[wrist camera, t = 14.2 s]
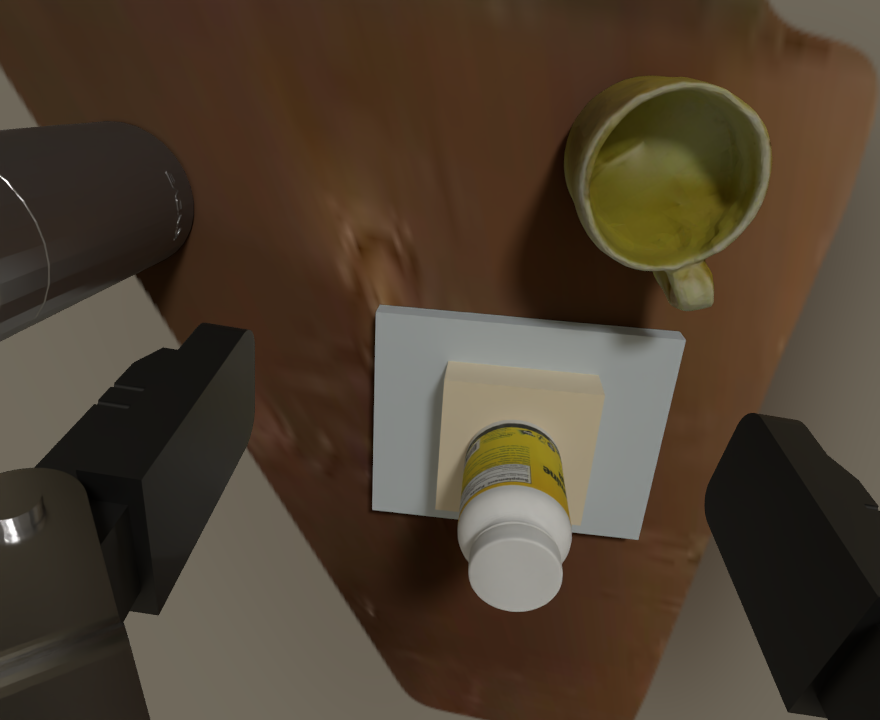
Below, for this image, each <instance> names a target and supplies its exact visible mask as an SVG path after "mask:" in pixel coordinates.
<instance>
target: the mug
mask: <svg viewBox="0 0 880 720" xmlns="http://www.w3.org/2000/svg"><path fill="white" fill-rule="evenodd" d="M771 170H772V151H771V142H770V137H769V134H768V132H767V129H766V126H765V125H764V123H763V122H762V120H761V119H760V117H759V116H758V114H757V113H756V112H755V111H754V110H753V109H752V108H750V106H749V105H748V104H746V103H745V102H744V101H742V100H741V99H740V98H738V97H737V96H735V95H733V94H732V93H730V92H729V91H728V90H726V89H724V88H721V87H718V86H716V85H713V84H710V83H707V82H703V81H700V80H696V79H691V78H686V77H663V76H639V77H634V78H630V79H626V80H623V81H621V82H619V83H616V84H614V85H612V86H611V87H609V88H607V89H606V90H604V91H603V92H601V93H599V94H598V95H596V96H595V97H594V98H593V99H592V100H591V101H589V103H588V104H587V105H586V106H585V107H584V109H583V110H582V111H581V113H580V114H579V115H578V117H577V118H576V120H575V121H574V123H573V125H572V127H571V130H570V133H569V136H568V139H567V143H566V148H565V154H564V173H565V179H566V184H567V188H568V190H569V193H570V195H571V197H572V199H573V201H574V204H575V208H576V211H577V214H578V217H579V219H580V222H581V224H582V226H583V228H584V229H585V231H586V233H587V235H588V236H589V237H590V239H591V240H592V241H593V242H594V244H595V245H596V246H597V247H598V248H599V249H600V250H601V251H602V252H604V253H605V254H607V255H608V256H609V257H611V258H612V259H614V260H616V261H617V262H619V263H621V264H623V265H624V266H627V267H630V268H633V269H638V270H643V271H652V272H653V274H654V276H655V278H656V280H657V282H658V284H659V285H660V286H661V288H662V289H663V291H664V293H665V295H666V297H667V299H668V301H669V303H670V304H671V305H672V306H674V307H676V308H677V309H681V310H684V311H693V310H699V309H704V308H707V307H710V306H712V304H713V301H714V283H713V276H712V273H711V271H710V269H709V268H708V266H707V265H706V262H705V259H706V258H708V257H710V256H712V255H714V254H716V253H718V252H720V251H722V250H723V249H725V248H726V247H727V246H728V245H730V244H731V243H732V242H733V241H734V240H735V239H736V238H737V237H738V236H739V235H740V234H741V233H742V232H743V231H744V230H745V229H746V228H747V226H748V225H749V224H750V223H751V221H752V220H753V219H754V218H755V216H756V214H757V212H758V210H759V209H760V207H761V205H762V203H763V200H764V198H765V195H766V193H767V190H768V185H769V180H770V175H771Z"/></svg>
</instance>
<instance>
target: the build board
mask: <svg viewBox="0 0 880 720" xmlns="http://www.w3.org/2000/svg"><path fill="white" fill-rule="evenodd" d="M685 341H686V340H685V338H684V337H683V335H682V334H681V333H680V332H678V331H667V330H656V329H645V328H633V327H622V326H611V325H600V324H589V323H578V322H567V321H555V320H544V319H533V318H522V317H511V316H500V315H489V314H477V313H466V312H455V311H444V310H433V309H422V308H411V307H400V306H388V305H380V306H379V307H378V309H377V311H376V330H375V385H374V439H373V494H372V510H378V511H387V512H396V513H405V514H414V515H422V516H431V517H440V518H449V519H458V518H459V509H460V500H461V490H462V481H463V472H464V464H465V457H466V452H467V449H468V446H469V444H470V442H471V440H472V439H473V437H474V436H475V435H476V434H477V433H478V432H479V431H480V430H481V429H483V428H484V427H486V426H488V425H490V424H492V423H494V422H498V421H502V420H522V421H527V422H530V423H533V424H535V425H537V426H539V427H540V428H542V429H543V430H545V431H546V432H547V433H548V434H549V435H550V436H551V437H552V438H553V440H554V441H555V443H556V445H557V447H558V450H559V453H560V457H561V462H562V469H563V476H564V483H565V490H566V496H567V502H568V509H569V514H570V521H571V525H572V532H573V533H582V534H591V535H600V536H609V537H618V538H627V539H636V540H638V539H639V535H640V531H641V526H642V522H643V518H644V514H645V510H646V505H647V501H648V497H649V493H650V488H651V484H652V480H653V476H654V472H655V467H656V463H657V459H658V455H659V451H660V446H661V442H662V438H663V434H664V430H665V425H666V421H667V417H668V413H669V409H670V404H671V400H672V396H673V392H674V388H675V383H676V379H677V375H678V371H679V367H680V362H681V358H682V354H683V350H684V346H685Z"/></svg>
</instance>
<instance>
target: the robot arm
mask: <svg viewBox="0 0 880 720" xmlns="http://www.w3.org/2000/svg"><path fill="white" fill-rule="evenodd" d="M193 217H194V201H193V196H192V191H191V186H190V184H189V181H188V179H187V176H186V174H185V171H184V170H183V168H182V166H181V165H180V163H179V162H178V160H177V158H176V157H175V156H174V155H173V153H172V152H171V151H170V150H169V149H168V148H167V147H166V146H165V144H163V143H162V142H161V141H159V140H158V139H157V138H156V137H154V136H153V135H152V134H150V133H148V132H146V131H144V130H143V129H141V128H139V127H137V126H133V125H130V124H126V123H123V122H111V121H104V122H92V123H81V124H66V125H54V126H42V127H31V128H19V129H9V130H8V129H7V130H0V341H2V340H4V339H6V338H8V337H10V336H12V335H14V334H16V333H18V332H20V331H22V330H24V329H26V328H28V327H30V326H32V325H34V324H36V323H38V322H40V321H42V320H44V319H46V318H48V317H50V316H52V315H54V314H56V313H58V312H60V311H62V310H64V309H66V308H68V307H70V306H72V305H74V304H76V303H78V302H80V301H82V300H84V299H86V298H88V297H90V296H92V295H94V294H96V293H98V292H100V291H102V290H104V289H106V288H108V287H110V286H112V285H114V284H116V283H118V282H120V281H122V280H124V279H126V278H128V277H130V276H133V275H135V274H137V273H139V272H141V271H143V270H145V269H147V268H149V267H151V266H153V265H155V264H157V263H159V262H161V261H163V260H165V259H167V258H168V257H170V256H171V255H172V254H174V253H175V252H177V250H178V249H179V248H180V247H181V246H182V245H183V243H184V242H185V240H186V238H187V236H188V234H189V232H190V230H191V226H192V221H193ZM254 413H255V342H254V336H253V333H252V331H251V330H247V329H240V328H234V327H228V326H222V325H216V324H210V323H202V324H200V325H199V326H198V327H197V328H196V329H195V331H194V332H193V333H192V334H191V335H190V336H189V338H188V339H187V340H186V341H185V342H184V343H183V345H182V346H181V347H180V348H179V349H178V350H174V349H169V348H161V349H159V350H157V351H155V352H154V353H152V354H150V355H148V356H146V357H144V358H142V359H140V360H138V361H136V362H134V363H133V364H132V365H131V366H130V367H129V368H128V369H127V370H126V371H125V372H124V373H123V374H122V376H121V377H120V378H119V379H118V380H117V381H116V382H115V384H114V387H110V388H109V389H108V390H107V391H106V392H105V393H104V394H103V396H102V397H101V398H100V399H99V400H98V404H97V405H96V404H94V405H93V406H92V407H91V408H90V409H89V410H88V411H87V412H86V413H85V415H84V416H83V417H82V418H81V419H80V420H79V421H78V422H77V423H76V424H75V425H74V426H73V427H72V428H71V429H70V430H69V432H68V433H67V434H66V435H65V436H64V437H63V438H62V439H61V440H60V441H59V442H58V443H57V444H56V445H55V446H54V447H53V448H52V449H51V451H50V452H49V453H48V454H47V455H46V456H45V457H44V458H43V459H42V460H41V461H40V462H39V463H38V464H37V465H36V466H35V468H26V469H17V470H12V471H7V472H3V473H0V720H150V716H149V713H148V709H147V705H146V702H145V698H144V694H143V690H142V687H141V683H140V679H139V675H138V672H137V668H136V665H135V661H134V657H133V653H132V650H131V646H130V642H129V638H128V635H127V632H126V629H125V625H124V623H123V622H124V620H125V618H126V616H127V614H128V613H129V611H133V612H140V613H146V614H153V615H159V614H160V612H161V610H162V608H163V606H164V604H165V602H166V600H167V598H168V596H169V594H170V592H171V591H172V588H173V587H174V585H175V583H176V581H177V579H178V577H179V575H180V573H181V571H182V569H183V568H184V566H185V564H186V562H187V560H188V558H189V556H190V554H191V552H192V550H193V548H194V546H195V545H196V543H197V541H198V539H199V537H200V535H201V533H202V531H203V529H204V527H205V525H206V523H207V522H208V519H209V518H210V516H211V514H212V512H213V510H214V508H215V506H216V504H217V502H218V500H219V498H220V497H221V495H222V493H223V491H224V489H225V487H226V485H227V483H228V481H229V479H230V477H231V475H232V474H233V472H234V469H235V468H236V466H237V464H238V462H239V460H240V458H241V456H242V454H243V452H244V451H245V449H246V446H247V444H248V442H249V439H250V435H251V432H252V427H253V422H254ZM705 515H706V519H707V522H708V525H709V527H710V529H711V532H712V534H713V537H714V539H715V541H716V544H717V546H718V548H719V551H720V553H721V555H722V558H723V560H724V562H725V565H726V567H727V570H728V572H729V574H730V577H731V579H732V581H733V584H734V586H735V588H736V591H737V593H738V595H739V598H740V600H741V603H742V605H743V607H744V610H745V612H746V615H747V617H748V619H749V621H750V624H751V626H752V629H753V631H754V633H755V636H756V638H757V640H758V643H759V645H760V647H761V650H762V652H763V655H764V657H765V659H766V662H767V664H768V667H769V669H770V671H771V674H772V676H773V678H774V681H775V683H776V685H777V688H778V690H779V692H780V695H781V697H782V700H783V702H784V704H785V707H786V709H787V711H788V712H790V713H796V714H804V715H809V716H816V717H823V718H827V719H828V720H880V511H878V505H877V504H876V502H875V501H874V500H873V498H872V497H871V496H870V494H869V493H868V492H867V491H866V489H865V488H864V487H863V485H862V484H861V483H860V481H859V480H858V479H856V478H855V477H854V476H853V475H852V474H850V473H849V472H848V471H847V470H845V469H844V468H843V467H842V466H840V465H839V464H838V463H837V462H836V461H834V460H833V459H832V458H831V457H829V456H828V455H827V454H826V452H825V451H824V450H823V449H822V447H821V446H820V444H819V443H818V442H817V440H816V439H815V438H814V436H813V435H812V434H811V432H810V431H809V430H808V428H807V427H806V426H805V425H804V424H803V423H802V422H801V421H798V420H793V419H787V418H781V417H775V416H769V415H763V414H756V413H749V414H747V415H745V416H744V417H743V418H742V419H741V421H740V422H739V424H738V425H737V427H736V429H735V431H734V433H733V435H732V437H731V439H730V441H729V443H728V445H727V447H726V449H725V451H724V453H723V455H722V457H721V459H720V461H719V463H718V465H717V467H716V469H715V471H714V473H713V475H712V477H711V479H710V482H709V484H708V487H707V490H706V494H705Z"/></svg>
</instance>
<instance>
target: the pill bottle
mask: <svg viewBox="0 0 880 720" xmlns="http://www.w3.org/2000/svg"><path fill="white" fill-rule="evenodd" d="M571 540H572V525H571V521H570V514H569V509H568V502H567V496H566V490H565V483H564V476H563V469H562V462H561V457H560V453H559V450H558V447H557V445H556V443H555V441H554V440H553V438H552V437H551V436H550V435H549V434H548V433H547V432H546V431H545V430H543V429H542V428H540V427H539V426H537V425H535V424H533V423H530V422H527V421H522V420H502V421H498V422H494V423H492V424H490V425H488V426H486V427H484V428H483V429H481V430H480V431H479V432H478V433H477V434H476V435H475V436H474V437H473V439H472V440H471V442H470V444H469V446H468V449H467V452H466V457H465V464H464V472H463V481H462V490H461V500H460V509H459V518H458V541H459V545H460V548H461V551H462V553H463V555H464V557H465V558H466V560H467V561H468V562H469V567H468V575H469V581H470V584H471V586H472V588H473V590H474V591H475V592H476V594H477V595H478V596H479V597H480V598H481V599H482V600H483V601H485V602H486V603H488V604H489V605H491V606H493V607H496V608H498V609H502V610H506V611H512V612H521V611H529V610H533V609H536V608H539V607H541V606H543V605H545V604H546V603H548V602H549V601H550V600H551V599H552V598H553V597H554V596H555V595H556V594H557V592H558V590H559V588H560V586H561V583H562V575H563V572H562V563H563V561H564V560H565V558H566V557H567V555H568V552H569V549H570V546H571Z"/></svg>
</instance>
